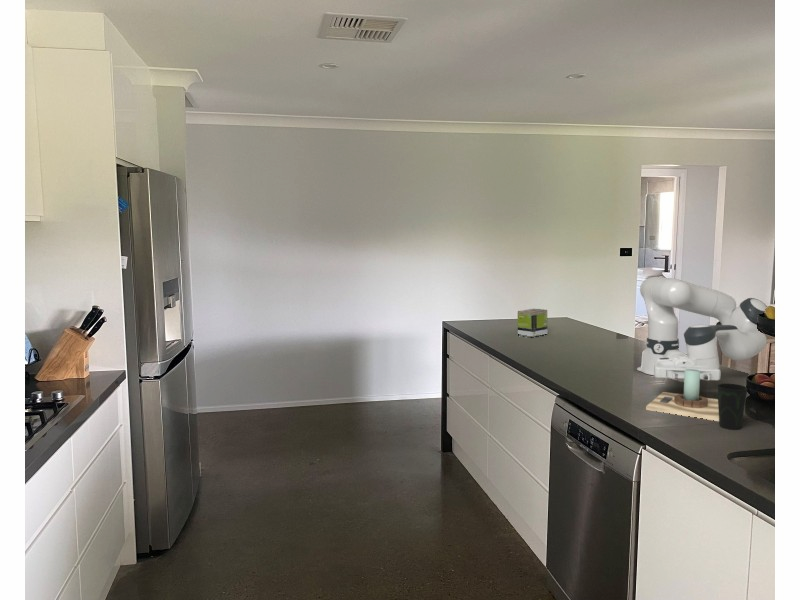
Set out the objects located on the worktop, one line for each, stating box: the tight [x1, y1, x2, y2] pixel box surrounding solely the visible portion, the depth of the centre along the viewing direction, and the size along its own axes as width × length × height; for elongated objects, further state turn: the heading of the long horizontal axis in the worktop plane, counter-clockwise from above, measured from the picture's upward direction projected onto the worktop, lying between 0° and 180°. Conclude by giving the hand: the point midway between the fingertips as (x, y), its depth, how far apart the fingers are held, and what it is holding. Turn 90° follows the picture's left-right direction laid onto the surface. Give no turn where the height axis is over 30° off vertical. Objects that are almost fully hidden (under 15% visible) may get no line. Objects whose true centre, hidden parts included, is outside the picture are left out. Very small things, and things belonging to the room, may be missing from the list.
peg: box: [683, 369, 701, 401], centre depth 193 cm, size 4×4×11 cm
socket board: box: [645, 391, 719, 422], centre depth 193 cm, size 22×22×3 cm
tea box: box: [517, 308, 549, 336], centre depth 335 cm, size 15×10×15 cm, turn 130°
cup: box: [716, 383, 748, 431], centre depth 173 cm, size 8×8×12 cm
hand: (691, 377), depth 193 cm, fingers open, 8 cm apart
